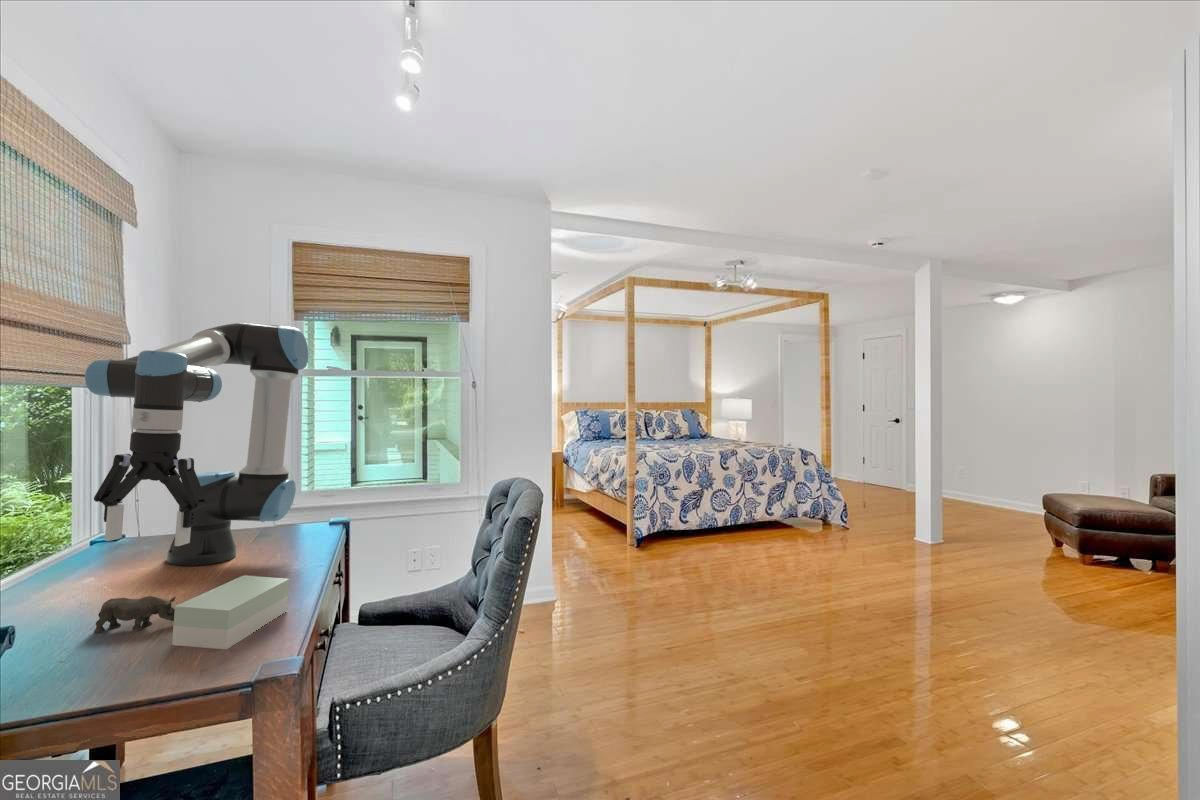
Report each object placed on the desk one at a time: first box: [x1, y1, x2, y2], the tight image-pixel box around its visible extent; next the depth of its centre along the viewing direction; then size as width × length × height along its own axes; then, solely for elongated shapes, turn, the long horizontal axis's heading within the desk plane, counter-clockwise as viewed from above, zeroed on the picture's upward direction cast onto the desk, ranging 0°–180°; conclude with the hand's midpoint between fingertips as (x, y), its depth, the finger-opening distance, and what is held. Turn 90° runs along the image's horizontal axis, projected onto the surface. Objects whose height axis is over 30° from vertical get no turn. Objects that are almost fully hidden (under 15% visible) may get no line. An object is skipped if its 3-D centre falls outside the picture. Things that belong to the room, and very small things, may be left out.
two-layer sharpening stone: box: [171, 574, 290, 650], centre depth 106 cm, size 18×10×7 cm, turn 178°
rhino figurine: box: [93, 595, 176, 634], centre depth 104 cm, size 4×14×6 cm, turn 111°
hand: (147, 542), depth 104 cm, fingers open, 13 cm apart
